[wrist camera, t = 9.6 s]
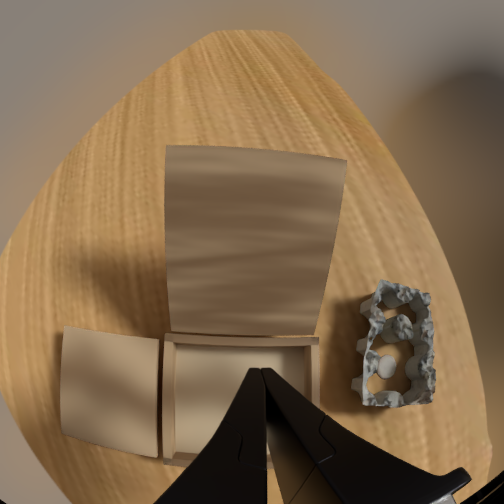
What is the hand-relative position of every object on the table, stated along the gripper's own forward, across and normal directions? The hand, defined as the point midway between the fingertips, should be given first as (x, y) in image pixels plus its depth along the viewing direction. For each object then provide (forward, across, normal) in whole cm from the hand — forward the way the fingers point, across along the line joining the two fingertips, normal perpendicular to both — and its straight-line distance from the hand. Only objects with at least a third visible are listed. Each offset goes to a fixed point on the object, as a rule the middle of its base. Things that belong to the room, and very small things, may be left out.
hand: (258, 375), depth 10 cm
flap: (+8, 0, -4) cm, 9 cm away
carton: (+6, -4, -10) cm, 12 cm away
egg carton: (+9, +13, -8) cm, 18 cm away
